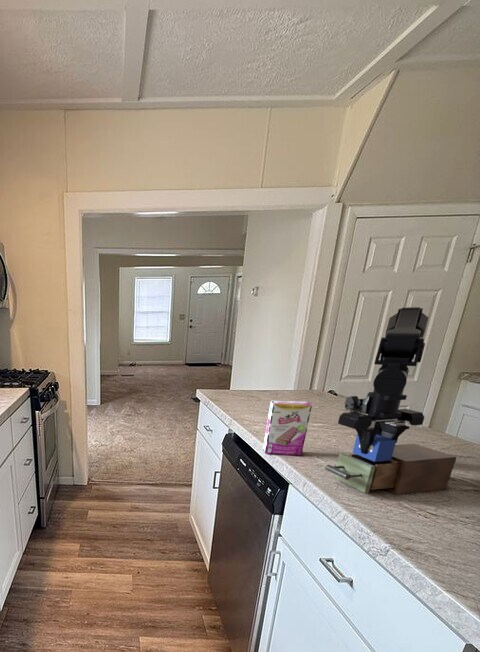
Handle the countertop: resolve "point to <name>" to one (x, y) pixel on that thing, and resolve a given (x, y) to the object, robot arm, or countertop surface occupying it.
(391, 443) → the block
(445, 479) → the cabinet
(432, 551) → the countertop surface
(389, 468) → the drawer
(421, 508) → the countertop surface
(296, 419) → the candy bar box
